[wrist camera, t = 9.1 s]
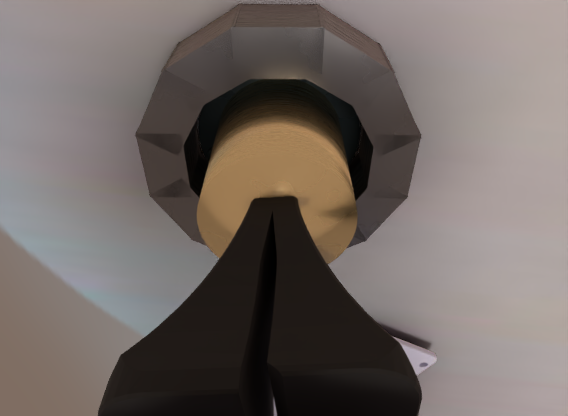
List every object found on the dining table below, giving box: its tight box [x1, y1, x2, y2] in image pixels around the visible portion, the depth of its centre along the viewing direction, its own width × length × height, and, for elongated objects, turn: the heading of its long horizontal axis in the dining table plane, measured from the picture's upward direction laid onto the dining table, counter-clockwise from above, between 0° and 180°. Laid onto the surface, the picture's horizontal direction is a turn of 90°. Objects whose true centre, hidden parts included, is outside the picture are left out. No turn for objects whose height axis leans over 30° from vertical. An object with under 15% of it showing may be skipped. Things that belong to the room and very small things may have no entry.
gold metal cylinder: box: [197, 79, 358, 264], centre depth 16 cm, size 5×5×6 cm
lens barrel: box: [136, 3, 421, 248], centre depth 17 cm, size 10×10×3 cm
